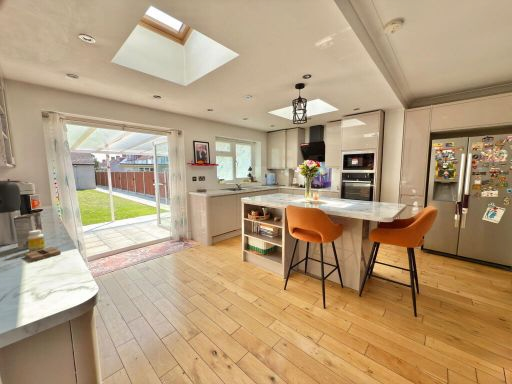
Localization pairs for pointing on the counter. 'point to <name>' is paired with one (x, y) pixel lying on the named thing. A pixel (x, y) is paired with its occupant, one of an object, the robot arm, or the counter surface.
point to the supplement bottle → (36, 241)
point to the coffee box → (26, 228)
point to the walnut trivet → (38, 254)
